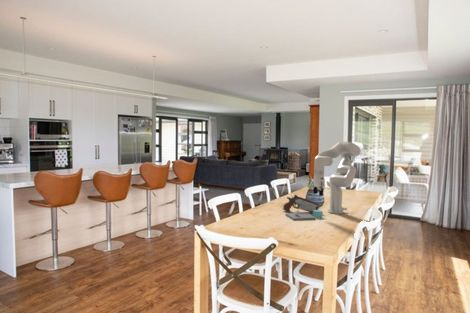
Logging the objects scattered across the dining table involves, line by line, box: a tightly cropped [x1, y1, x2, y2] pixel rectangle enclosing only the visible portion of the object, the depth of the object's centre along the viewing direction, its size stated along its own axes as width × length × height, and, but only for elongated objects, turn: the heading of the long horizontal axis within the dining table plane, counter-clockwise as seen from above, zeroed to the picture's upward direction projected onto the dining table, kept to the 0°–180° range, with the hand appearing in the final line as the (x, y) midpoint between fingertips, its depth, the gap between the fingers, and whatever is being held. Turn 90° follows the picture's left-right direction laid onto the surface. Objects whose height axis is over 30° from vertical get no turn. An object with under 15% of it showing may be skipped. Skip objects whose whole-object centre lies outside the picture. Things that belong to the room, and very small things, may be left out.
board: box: [285, 209, 317, 221], centre depth 255 cm, size 18×16×6 cm
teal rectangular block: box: [312, 209, 323, 219], centre depth 257 cm, size 6×6×5 cm
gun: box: [282, 194, 320, 214], centre depth 273 cm, size 5×27×15 cm, turn 79°
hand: (318, 194), depth 256 cm, fingers open, 9 cm apart
